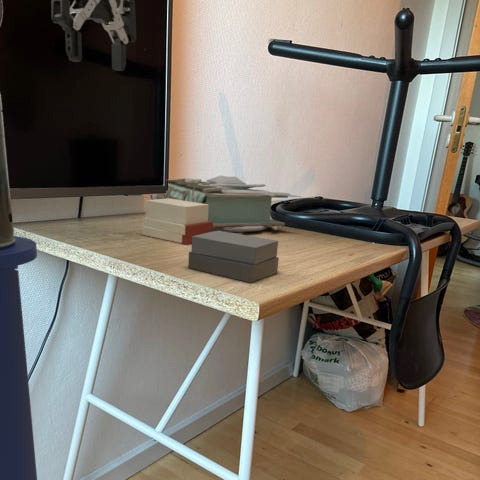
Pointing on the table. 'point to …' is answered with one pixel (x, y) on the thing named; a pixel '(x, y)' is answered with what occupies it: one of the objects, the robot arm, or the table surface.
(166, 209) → the white book
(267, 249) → the grey stack
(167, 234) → the white stack
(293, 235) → the table surface
